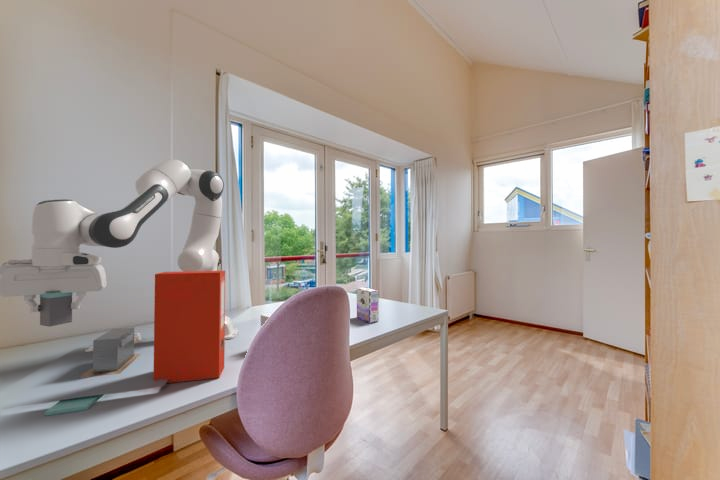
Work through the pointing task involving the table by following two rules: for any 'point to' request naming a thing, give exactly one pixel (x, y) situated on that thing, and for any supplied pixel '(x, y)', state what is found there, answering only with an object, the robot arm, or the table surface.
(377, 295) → the candy box
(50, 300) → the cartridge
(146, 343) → the table surface
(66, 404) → the pad
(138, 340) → the white brass knuckles
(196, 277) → the file binder
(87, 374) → the board
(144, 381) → the table surface
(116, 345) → the panel
